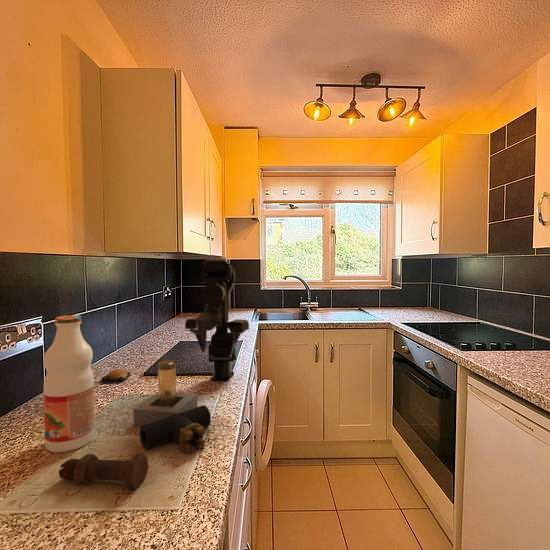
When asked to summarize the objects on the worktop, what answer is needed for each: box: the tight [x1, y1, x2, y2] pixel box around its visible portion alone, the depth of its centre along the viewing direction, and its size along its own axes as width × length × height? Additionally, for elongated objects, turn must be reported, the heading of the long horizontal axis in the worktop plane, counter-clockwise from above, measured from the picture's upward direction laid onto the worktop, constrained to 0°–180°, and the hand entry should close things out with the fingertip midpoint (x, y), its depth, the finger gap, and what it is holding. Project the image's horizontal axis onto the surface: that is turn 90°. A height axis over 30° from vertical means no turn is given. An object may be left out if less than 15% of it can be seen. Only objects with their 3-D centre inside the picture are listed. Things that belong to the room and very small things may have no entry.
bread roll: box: [100, 368, 131, 385], centre depth 111 cm, size 11×8×4 cm
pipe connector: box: [139, 404, 212, 455], centre depth 72 cm, size 12×5×15 cm
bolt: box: [58, 452, 149, 491], centre depth 58 cm, size 6×5×15 cm
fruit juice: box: [43, 314, 96, 453], centre depth 71 cm, size 9×9×28 cm
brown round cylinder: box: [157, 359, 177, 407], centre depth 83 cm, size 4×4×14 cm
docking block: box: [133, 391, 198, 427], centre depth 83 cm, size 11×11×4 cm
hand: (217, 352), depth 96 cm, fingers open, 9 cm apart
